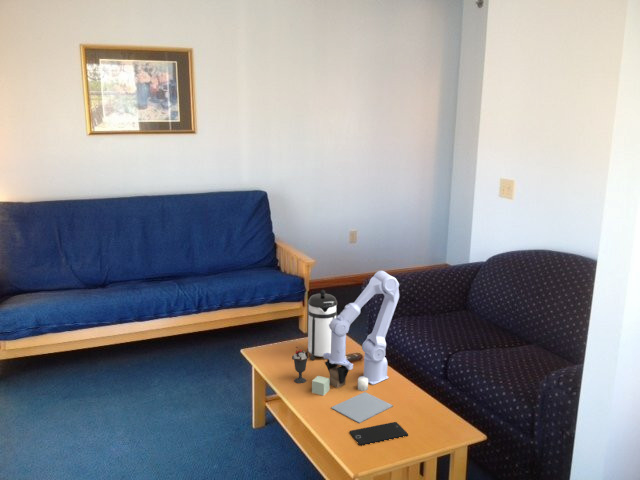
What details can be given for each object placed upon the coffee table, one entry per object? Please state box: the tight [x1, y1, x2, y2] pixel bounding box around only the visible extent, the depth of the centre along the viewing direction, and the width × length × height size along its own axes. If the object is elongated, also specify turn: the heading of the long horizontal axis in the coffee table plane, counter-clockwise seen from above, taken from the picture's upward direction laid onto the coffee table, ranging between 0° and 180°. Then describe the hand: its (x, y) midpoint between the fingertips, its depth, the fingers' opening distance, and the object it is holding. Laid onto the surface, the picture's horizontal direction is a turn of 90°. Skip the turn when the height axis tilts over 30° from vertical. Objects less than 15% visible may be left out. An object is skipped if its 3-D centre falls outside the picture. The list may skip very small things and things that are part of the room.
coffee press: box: [307, 289, 338, 361], centre depth 258 cm, size 17×16×30 cm
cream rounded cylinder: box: [357, 376, 369, 392], centre depth 229 cm, size 4×4×4 cm
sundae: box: [291, 346, 310, 384], centre depth 233 cm, size 7×7×15 cm
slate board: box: [330, 391, 394, 424], centre depth 215 cm, size 18×14×1 cm
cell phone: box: [349, 421, 409, 446], centre depth 198 cm, size 9×18×1 cm, turn 111°
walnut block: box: [328, 365, 347, 389], centre depth 232 cm, size 4×4×6 cm
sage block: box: [311, 375, 331, 396], centre depth 226 cm, size 5×5×5 cm
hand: (337, 380), depth 232 cm, fingers closed on walnut block, 4 cm apart
